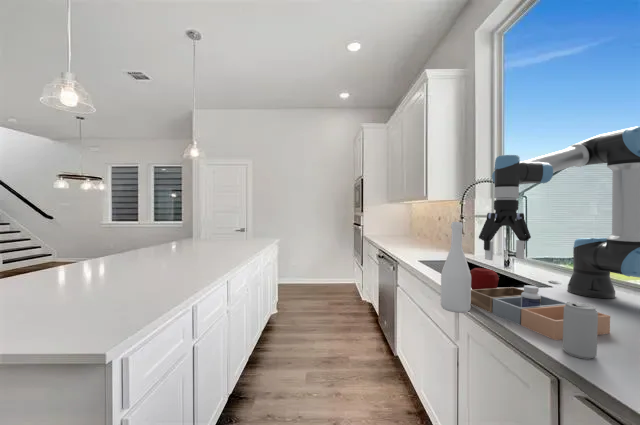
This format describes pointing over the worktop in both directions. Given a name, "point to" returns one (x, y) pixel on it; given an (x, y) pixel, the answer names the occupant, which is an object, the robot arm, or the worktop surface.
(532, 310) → the terracotta bin
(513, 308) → the slate bin
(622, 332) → the worktop surface
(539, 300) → the pill bottle
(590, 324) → the beverage can
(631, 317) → the worktop surface
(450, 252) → the wine bottle
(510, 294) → the walnut bin
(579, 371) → the worktop surface
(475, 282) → the apple
